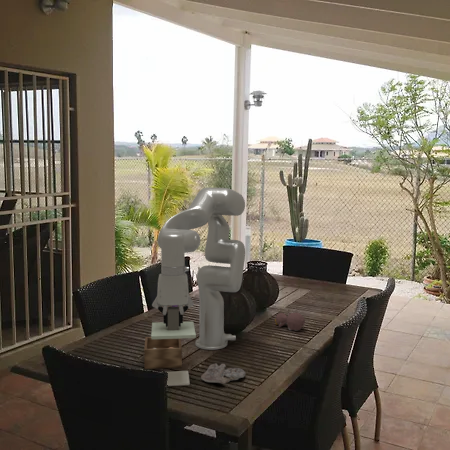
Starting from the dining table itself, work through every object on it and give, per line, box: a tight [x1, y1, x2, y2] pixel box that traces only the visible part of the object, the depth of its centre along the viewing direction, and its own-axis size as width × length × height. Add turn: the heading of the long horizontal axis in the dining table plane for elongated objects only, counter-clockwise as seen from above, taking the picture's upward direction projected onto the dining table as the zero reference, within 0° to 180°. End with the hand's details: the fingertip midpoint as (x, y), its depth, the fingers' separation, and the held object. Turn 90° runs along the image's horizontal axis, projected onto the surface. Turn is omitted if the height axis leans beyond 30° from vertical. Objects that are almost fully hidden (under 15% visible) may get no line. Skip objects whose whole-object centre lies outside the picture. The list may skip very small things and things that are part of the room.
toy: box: [274, 312, 306, 332], centre depth 229 cm, size 8×8×15 cm
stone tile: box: [166, 370, 191, 387], centre depth 177 cm, size 10×10×1 cm
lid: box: [150, 306, 197, 340], centre depth 174 cm, size 14×14×8 cm
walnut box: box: [143, 336, 183, 370], centre depth 192 cm, size 13×13×7 cm
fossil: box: [200, 363, 246, 385], centre depth 179 cm, size 17×4×15 cm
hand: (173, 324), depth 174 cm, fingers closed on lid, 3 cm apart
